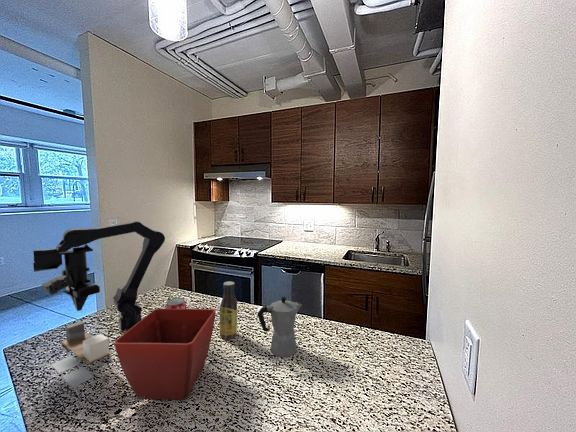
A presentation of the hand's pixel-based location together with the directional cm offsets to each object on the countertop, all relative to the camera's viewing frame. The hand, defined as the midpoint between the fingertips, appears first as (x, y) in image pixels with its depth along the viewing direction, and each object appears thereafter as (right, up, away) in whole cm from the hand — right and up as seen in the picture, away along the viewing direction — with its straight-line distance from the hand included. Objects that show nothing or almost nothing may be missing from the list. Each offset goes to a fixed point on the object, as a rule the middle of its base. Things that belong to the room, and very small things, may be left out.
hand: (79, 310), depth 89 cm
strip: (+5, -12, -3) cm, 13 cm away
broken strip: (+9, -13, -14) cm, 21 cm away
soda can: (+31, -12, +7) cm, 34 cm away
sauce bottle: (+50, -12, +6) cm, 52 cm away
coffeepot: (+69, -13, -2) cm, 70 cm away
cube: (+11, -12, -7) cm, 18 cm away
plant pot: (+40, -14, -17) cm, 46 cm away
